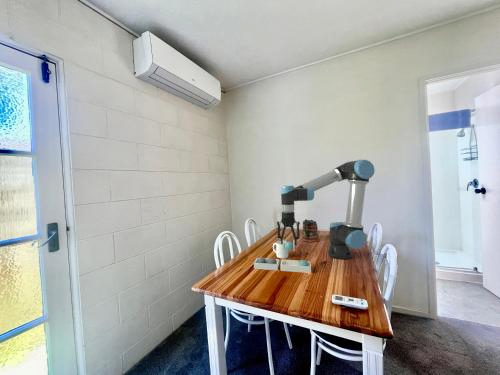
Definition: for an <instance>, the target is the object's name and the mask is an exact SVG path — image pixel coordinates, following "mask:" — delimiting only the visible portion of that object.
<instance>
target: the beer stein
mask: <svg viewBox="0 0 500 375" xmlns="http://www.w3.org/2000/svg"><path fill="white" fill-rule="evenodd" d="M319 238H320V237H319V232H318V224H317V221H315V220H314V219H306V218H305V219H304V220H303V221H302V234H301V240H302V242H308V243H309V242H310V243H316V242H319V241H320V240H319Z"/></svg>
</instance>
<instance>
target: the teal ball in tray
mask: <svg viewBox="0 0 500 375" xmlns="http://www.w3.org/2000/svg"><path fill="white" fill-rule="evenodd" d="M299 261H300V262H299V266H308V262H307V260H305V259H301V260H299Z"/></svg>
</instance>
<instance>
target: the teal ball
mask: <svg viewBox="0 0 500 375" xmlns="http://www.w3.org/2000/svg"><path fill="white" fill-rule="evenodd" d="M284 247H285V249H286V250H288V252H289V251H290V252H291V251H293V241H289V240H288V241H286V242H285V244H284Z"/></svg>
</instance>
